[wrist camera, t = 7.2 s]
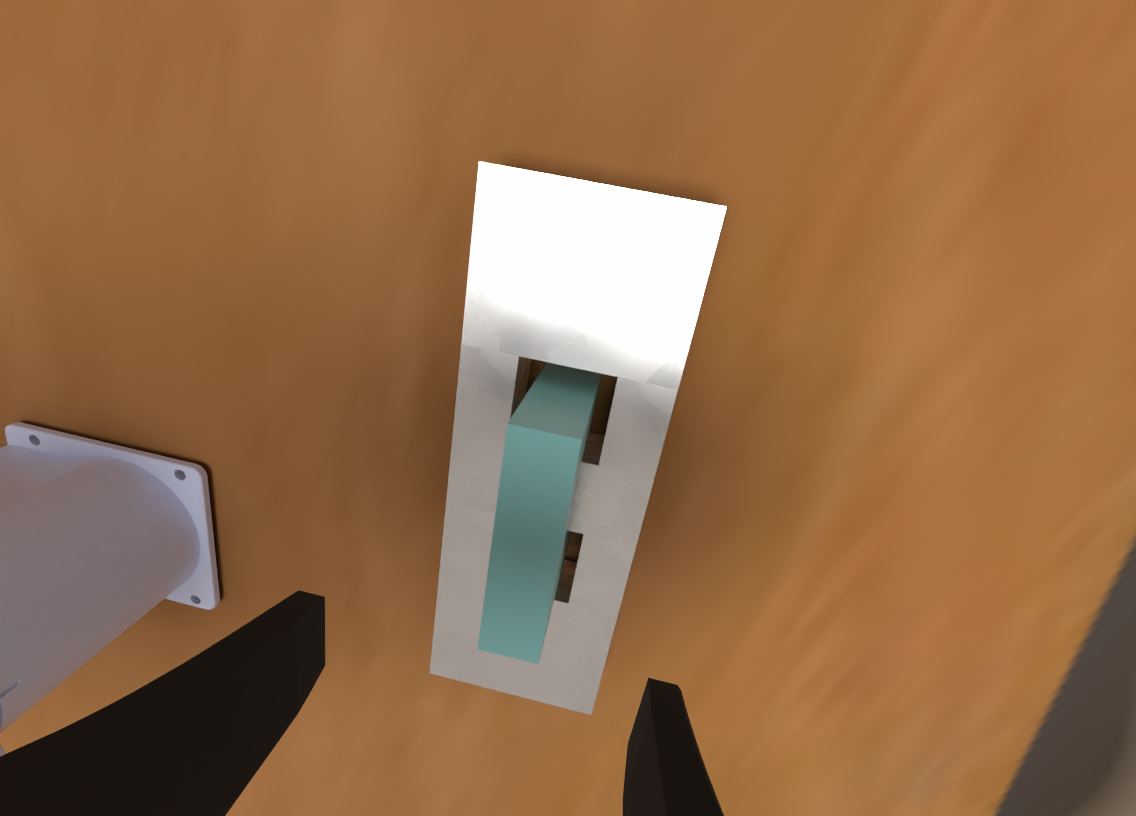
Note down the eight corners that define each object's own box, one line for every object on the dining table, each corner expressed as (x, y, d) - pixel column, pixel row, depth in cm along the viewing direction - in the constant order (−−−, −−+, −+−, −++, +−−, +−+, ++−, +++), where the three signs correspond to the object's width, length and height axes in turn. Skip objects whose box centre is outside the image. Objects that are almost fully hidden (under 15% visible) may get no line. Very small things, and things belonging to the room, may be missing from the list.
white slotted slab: (450, 629, 25) (429, 673, 23) (502, 165, 18) (478, 161, 15) (597, 666, 25) (591, 714, 22) (717, 205, 17) (726, 206, 15)
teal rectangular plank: (520, 539, 23) (477, 649, 17) (548, 359, 20) (506, 423, 14) (566, 550, 23) (538, 664, 17) (602, 370, 20) (581, 439, 14)
